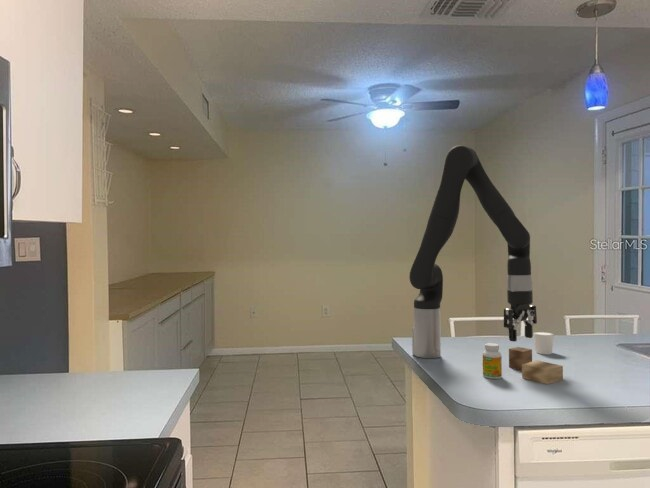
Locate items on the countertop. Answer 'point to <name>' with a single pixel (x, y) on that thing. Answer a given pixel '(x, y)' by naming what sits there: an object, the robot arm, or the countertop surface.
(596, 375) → the countertop surface
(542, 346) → the white cylinder
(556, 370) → the oak pedestal
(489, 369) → the supplement bottle
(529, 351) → the walnut block
